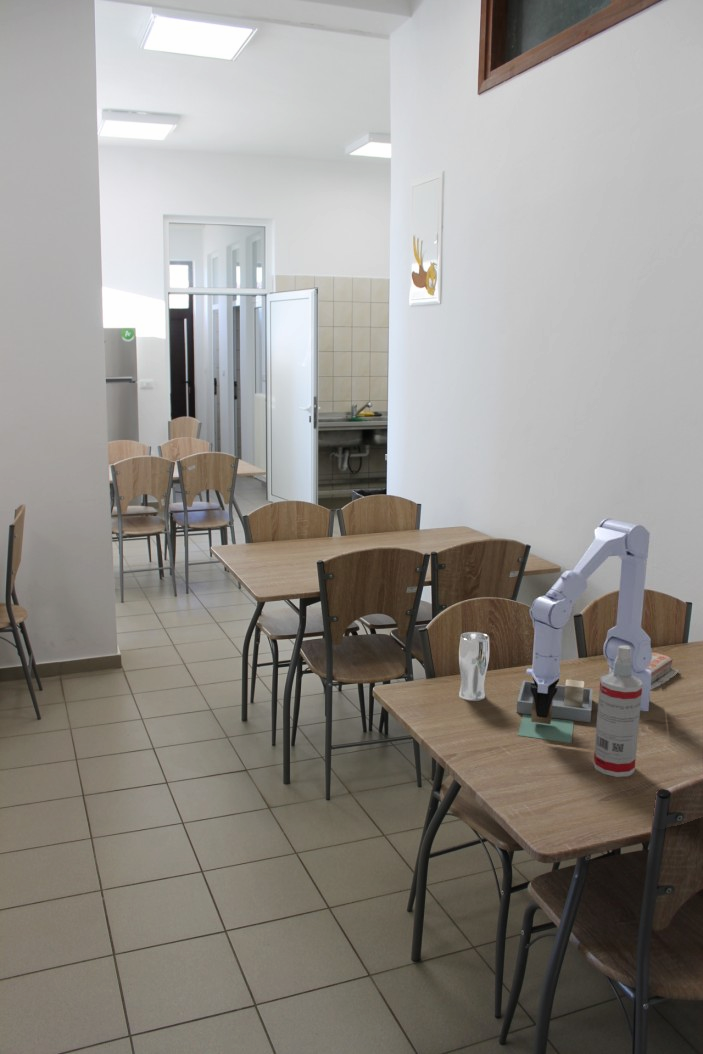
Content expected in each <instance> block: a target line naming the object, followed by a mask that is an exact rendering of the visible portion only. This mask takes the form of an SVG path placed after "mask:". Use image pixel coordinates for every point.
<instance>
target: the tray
mask: <svg viewBox="0 0 703 1054" xmlns="http://www.w3.org/2000/svg"><path fill="white" fill-rule="evenodd" d="M531 683H532V684H535V683H534V681H527V680H522V683H521V686H520V690H519V694H518V698H517V700H516V713H517V714H522V715H529V716H532V703H533V694H532V692H531V690H530V685H531ZM555 688H558V689H557V693H556V694H555V696H554V697H553V705H552V719H560V720H567V721H576V722H583V723H584V722H586V723H591V719H592V705H593V704H592V703H593V690H594V689H593V688H587V687H584V691H583V704H582V708H575V707H567V706H564V696H565V685H562V684H557V685H556V687H555Z"/></svg>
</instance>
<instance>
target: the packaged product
mask: <svg viewBox="0 0 703 1054" xmlns="http://www.w3.org/2000/svg"><path fill="white" fill-rule="evenodd" d="M672 665H673V658H671V657H670V656H669V655H665V654H662V653H658V652H653V651H652V660H651V663H650V664H649V666H648V667H647V668H646V669H649V670H651V688H650V691H651V690H653V689H655V688H658V687H660V686H662V685H663V684H665V683H667V682H669V681H670V680H671V679H672V678H673V677H675V676H677V675H678V674H679V673H680V670H678V669H675V668H672ZM677 673H678V674H677ZM676 674H677V675H676ZM670 678H671V679H670ZM666 681H667V682H666ZM661 684H662V685H661Z"/></svg>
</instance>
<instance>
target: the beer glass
mask: <svg viewBox="0 0 703 1054" xmlns="http://www.w3.org/2000/svg"><path fill="white" fill-rule="evenodd" d="M489 660H490V636H489V635H487V634H486V633H483V632H479V631H478V632H477V631H470V632H469V631H467V632H463V633H461V635H460V641H459V649H458V663H459V672H460V689H459V694H458V696H459V697H460V699H463V700H466V701H471V702H474V701H482V700H484V699H485V698H486V695H485V693H486V692H485V679H486V674H487V671H488V667H489V666H488V665H489V662H490V661H489Z"/></svg>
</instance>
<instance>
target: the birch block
mask: <svg viewBox="0 0 703 1054" xmlns="http://www.w3.org/2000/svg"><path fill="white" fill-rule="evenodd" d="M564 686H565V696H564V706H567V707H575V708H582V704H583V691H584V688H585V681H583V680H575V679H566V680H565V685H564Z"/></svg>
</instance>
